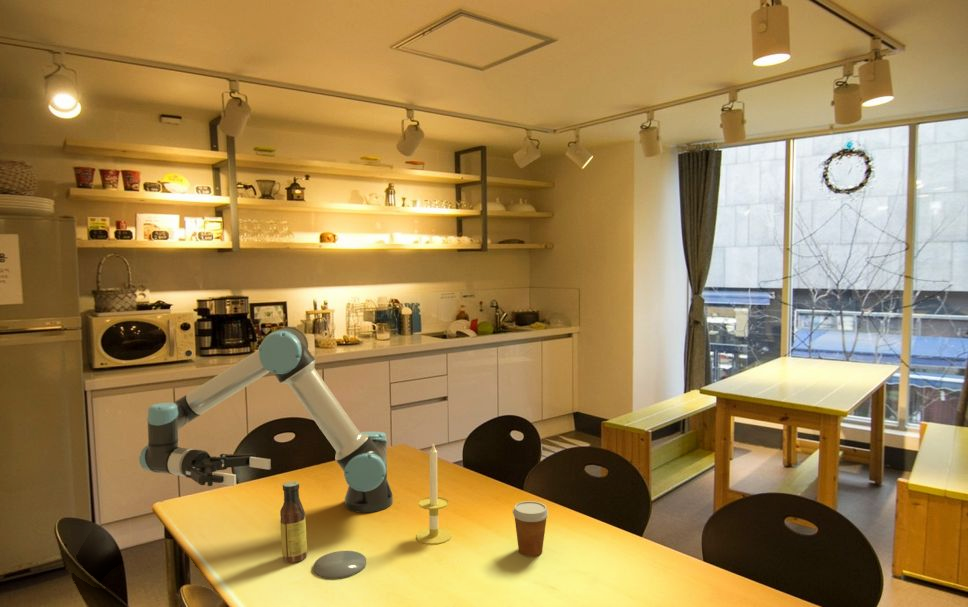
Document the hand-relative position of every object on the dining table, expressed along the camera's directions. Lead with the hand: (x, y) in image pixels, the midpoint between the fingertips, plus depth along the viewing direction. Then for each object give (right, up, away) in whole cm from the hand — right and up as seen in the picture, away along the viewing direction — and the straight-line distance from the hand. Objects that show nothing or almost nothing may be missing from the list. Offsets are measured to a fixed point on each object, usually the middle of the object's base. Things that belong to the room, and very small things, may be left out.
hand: (253, 472), depth 162 cm
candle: (+48, -21, +8) cm, 53 cm away
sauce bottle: (+12, -22, -4) cm, 25 cm away
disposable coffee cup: (+74, -21, -1) cm, 77 cm away
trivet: (+25, -22, -8) cm, 34 cm away
